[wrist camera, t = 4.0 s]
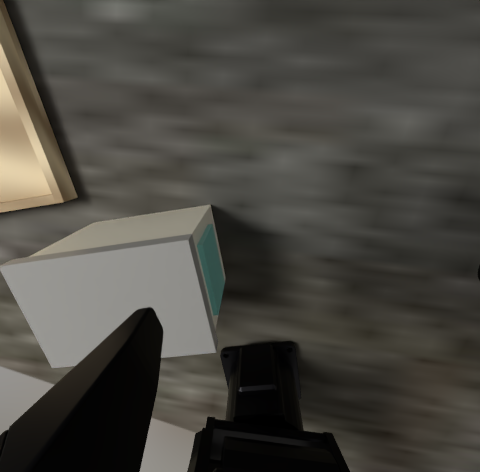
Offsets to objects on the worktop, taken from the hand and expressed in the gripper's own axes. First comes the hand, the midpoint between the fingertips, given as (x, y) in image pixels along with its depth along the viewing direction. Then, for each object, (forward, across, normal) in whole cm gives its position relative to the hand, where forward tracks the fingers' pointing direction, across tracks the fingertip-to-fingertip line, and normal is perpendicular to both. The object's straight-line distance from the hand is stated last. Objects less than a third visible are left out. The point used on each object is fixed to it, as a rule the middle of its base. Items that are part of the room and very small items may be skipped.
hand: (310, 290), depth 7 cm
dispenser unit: (+12, +9, +4) cm, 15 cm away
